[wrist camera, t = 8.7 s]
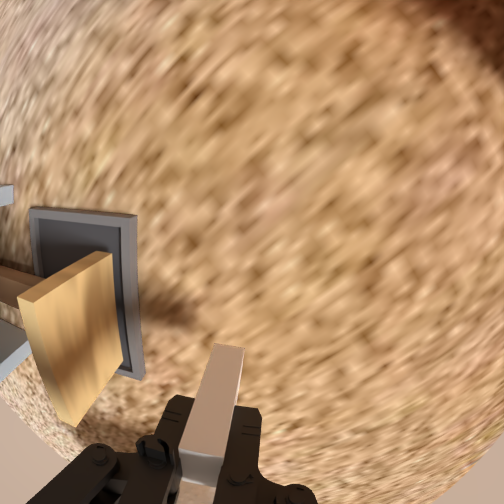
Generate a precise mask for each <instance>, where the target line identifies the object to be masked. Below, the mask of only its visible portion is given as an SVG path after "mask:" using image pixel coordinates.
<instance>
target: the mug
mask: <svg viewBox="0 0 504 504" xmlns="http://www.w3.org/2000/svg"><path fill="white" fill-rule="evenodd" d="M179 487H180V492H179V496H178V499H177V503H176V504H213V500H214V495H215V491H216V488H215V487H210V486H204V485H199V484H195V483H190V482H186V481H182V478H181V482H180V485H179Z"/></svg>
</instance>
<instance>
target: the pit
mask: <svg viewBox="0 0 504 504" xmlns="http://www.w3.org/2000/svg"><path fill="white" fill-rule="evenodd" d="M29 223H30V237H31V247H32V256H33V264H34V271H35V276H38V277H41V278H45V279H47V278H49V277H50V276H52V275H54V274H55V273H57V272H59V271H61V270H62V269H64V268H66V267H68V266H69V265H71V264H73V263H75V262H77V261H78V260H80V259H82V258H84V257H86V256H88V255H89V254H91V253H93V252H95V251H100V252H106V253H112V262H113V279H114V292H115V303H116V312H117V321H118V329H119V336H120V343H121V350H122V356H123V362H122V363H121V364H120V366H119V367H118V369H117V370H116V371H115V373H117V374H120V375H123V376H126V377H130V378H133V379H137V380H140V381H141V380H142V378H143V377H144V375H145V373H146V371H145V363H144V355H143V346H142V336H141V325H140V313H139V297H138V275H137V215H129V214H118V213H108V212H97V211H86V210H74V209H62V208H49V207H34V208H30V209H29Z"/></svg>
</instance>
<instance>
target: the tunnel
mask: <svg viewBox="0 0 504 504" xmlns="http://www.w3.org/2000/svg"><path fill="white" fill-rule="evenodd" d="M12 203H14V202H13V185H0V206H4V205H8V204H12ZM31 353H32V351H31V348H30V344H29V341H28V338H27V335H26V331H24V330H22V329H20V328H18V327H16V326H14V325H12V324H10V323H8V322H6V321H4V320H2V319H0V382H2V381H3V380H4V379H5V378H6V377H7V376H8V375H9V374H10V373H11V372H12V371H13V370H14V369H15V368H16V367H17V366H18V365H19V364H20V363H22V362H23V361H24V360H25V359H26V358H27V357H28V356H29V355H30V354H31Z"/></svg>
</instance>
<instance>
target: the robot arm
mask: <svg viewBox="0 0 504 504" xmlns="http://www.w3.org/2000/svg"><path fill="white" fill-rule="evenodd" d="M244 349H245V348H241V347H235V346H228V345H222V344H217V343H215V344H214V347H213V350H212V352H211V355H210V358H209V361H208V364H207V367H206V369H205V372H204V375H203V378H202V381H201V384H200V387H199V389H198V392H197V395H196V398H190V397H185V396H181V395H177V394H176V395H175V396H174V397H173V398H172V399H170V400H169V401H168V403H167V406H166V408H165V411H164V412H163V415H162V417H161V419H160V421H159V424H158V426H157V428H156V430H155V433H154V435H146V436H143V437H142V438H140V439H139V440H138V441H137V442H136V443H135V444H136V447H137V450H138V452H136V453H123V452H115V451H114V450H113V449H112V448H111V447H110V446H107V445H105V444H100V443H96V444H91V445H90V446H88V447H87V448H85V449H84V450H83V451H82V452H81V453H80V454H79V455H78V456H77V457H76V458H75V459H74V460H73V461H72V462H71V463H70V464H68V465H67V466H66V467H65V468H64V469H63V470H62V471H61V472H60V473H59V474H58V475H57V476H56V477H54V478H53V480H51V481H50V482H49V483H48V484H47V485H46V486H45V487H44V488H42V489H41V490H40V491H39V492H38V493H37V494H36V495H35V496H34V497H32V498H31V499H30V500H29V501H28V502H27V503H26V504H176V503H177V499H178V496H179V492H180V487H179V485H180V482H181V478H182V481H186V482H190V483H195V484H199V485H204V486H210V487H215V488H216V491H215V495H214V500H213V504H318V503H317V500H316V498H315V495H314V493H313V492H312V490H311V489H309V488H308V487H306V486H304V485H300V484H290V485H287V486H282V485H279V484H276V483H273V482H271V481H269V480H267V479H266V478H264V477H263V476H262V474H261V473H260V471H259V469H258V457H259V446H260V435H261V423H262V417H261V414H260V412H259V410H258V408H250V407H243V406H236V402H237V397H238V391H239V386H240V378H241V371H242V364H243V357H244Z"/></svg>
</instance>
